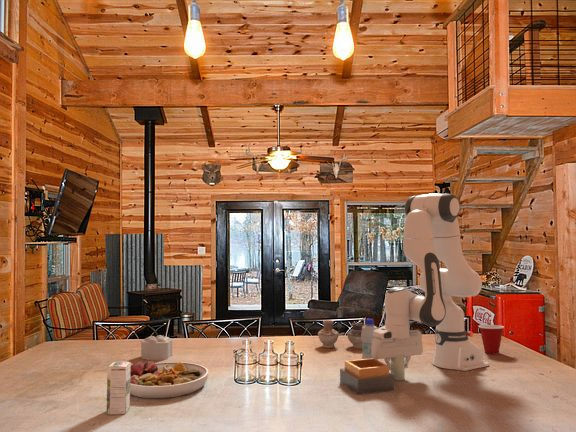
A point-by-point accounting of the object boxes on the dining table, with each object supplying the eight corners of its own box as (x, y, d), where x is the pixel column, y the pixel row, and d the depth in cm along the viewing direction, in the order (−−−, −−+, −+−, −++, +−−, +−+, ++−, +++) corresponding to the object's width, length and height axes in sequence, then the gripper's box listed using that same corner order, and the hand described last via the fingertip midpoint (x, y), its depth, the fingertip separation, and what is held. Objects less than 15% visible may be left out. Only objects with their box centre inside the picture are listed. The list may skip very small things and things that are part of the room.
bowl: (222, 379, 189) (222, 358, 189) (180, 406, 160) (180, 381, 161) (153, 372, 199) (153, 351, 199) (102, 396, 170) (102, 372, 170)
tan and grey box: (374, 378, 188) (374, 356, 188) (394, 390, 174) (394, 366, 175) (340, 382, 183) (340, 360, 183) (357, 394, 170) (357, 370, 170)
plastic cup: (496, 349, 232) (495, 322, 232) (509, 354, 221) (509, 327, 222) (473, 349, 230) (473, 323, 231) (486, 355, 220) (486, 328, 220)
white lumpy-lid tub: (165, 360, 215) (166, 339, 215) (136, 359, 216) (136, 339, 217) (174, 354, 225) (174, 334, 225) (146, 353, 227) (146, 334, 227)
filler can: (399, 376, 191) (399, 346, 191) (407, 379, 186) (406, 349, 186) (388, 377, 189) (388, 347, 189) (395, 381, 184) (395, 350, 184)
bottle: (378, 372, 195) (378, 320, 196) (360, 371, 197) (360, 320, 197) (378, 367, 202) (378, 317, 202) (361, 366, 203) (361, 317, 204)
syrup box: (111, 408, 158) (111, 361, 158) (130, 407, 158) (130, 361, 159) (106, 415, 152) (106, 366, 153) (126, 414, 153) (126, 366, 153)
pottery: (317, 344, 244) (317, 319, 244) (370, 344, 242) (369, 319, 243) (317, 349, 233) (317, 323, 233) (372, 350, 231) (372, 324, 231)
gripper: (416, 327, 194) (416, 363, 194) (368, 331, 188) (369, 369, 187) (426, 330, 188) (426, 368, 188) (377, 334, 182) (377, 373, 181)
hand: (397, 368), depth 188 cm, fingers closed on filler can, 5 cm apart
